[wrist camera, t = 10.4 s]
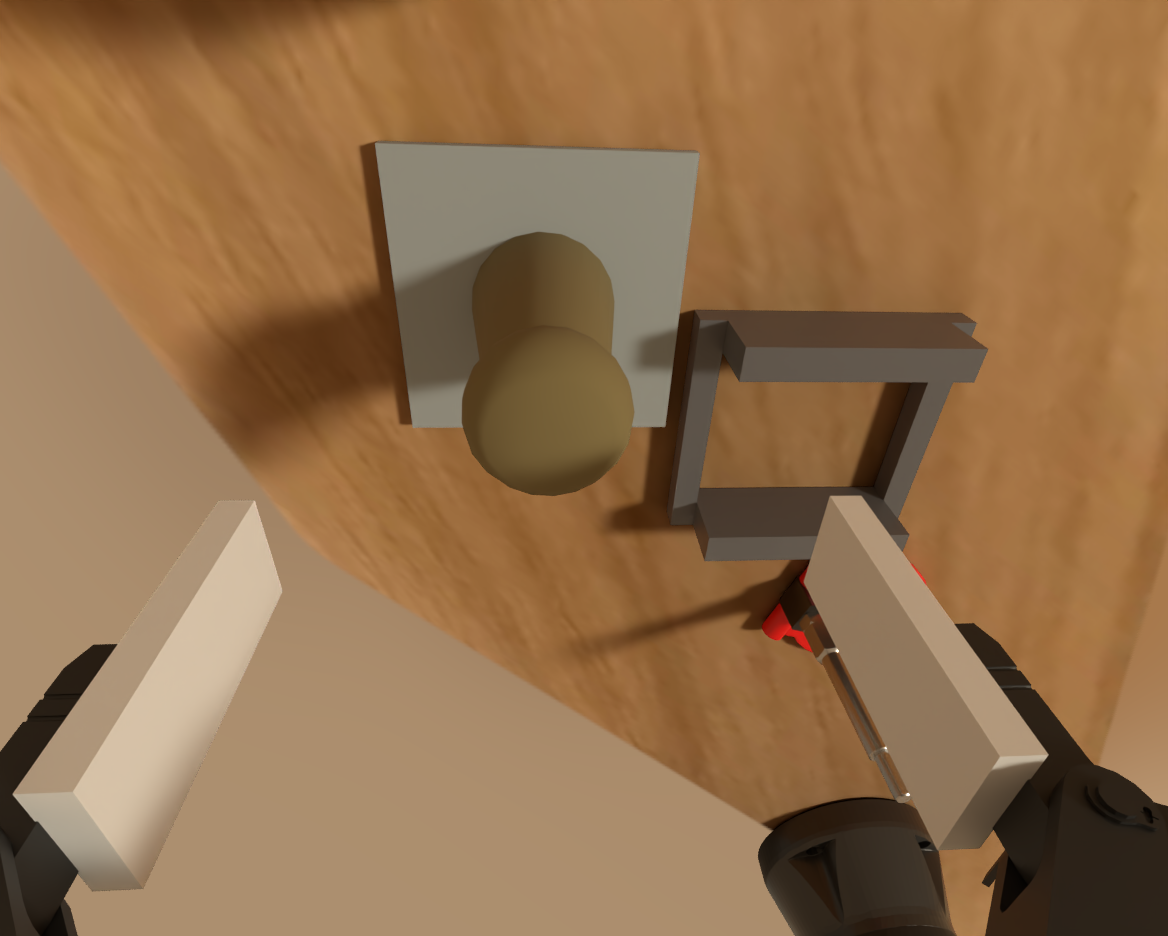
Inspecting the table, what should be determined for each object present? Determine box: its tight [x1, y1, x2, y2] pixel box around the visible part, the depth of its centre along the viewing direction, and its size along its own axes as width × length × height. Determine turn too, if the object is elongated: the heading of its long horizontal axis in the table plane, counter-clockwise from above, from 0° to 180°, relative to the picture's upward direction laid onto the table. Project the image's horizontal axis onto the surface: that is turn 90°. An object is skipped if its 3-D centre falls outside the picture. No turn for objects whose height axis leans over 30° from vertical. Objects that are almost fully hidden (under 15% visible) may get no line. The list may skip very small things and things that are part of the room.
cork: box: [462, 232, 635, 496], centre depth 22 cm, size 6×6×11 cm
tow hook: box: [762, 563, 927, 803], centre depth 35 cm, size 8×13×9 cm
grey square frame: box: [667, 310, 988, 561], centre depth 30 cm, size 11×12×4 cm
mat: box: [375, 141, 700, 428], centre depth 27 cm, size 12×12×1 cm
